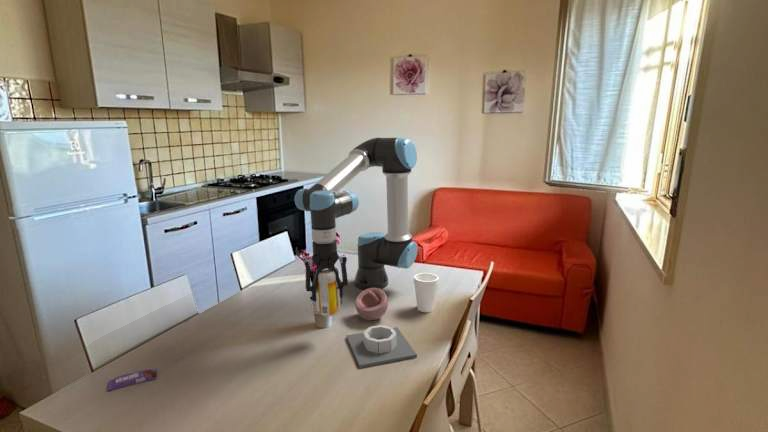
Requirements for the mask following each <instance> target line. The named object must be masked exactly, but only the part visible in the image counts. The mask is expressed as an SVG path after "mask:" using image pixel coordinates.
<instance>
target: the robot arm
mask: <svg viewBox="0 0 768 432" xmlns="http://www.w3.org/2000/svg"><path fill="white" fill-rule="evenodd" d="M417 160H418V154H417V149H416V145H415V144H414V143H413V141H412V140H411V139H409V138H404V137H373V138H370V139H368V140H365V141H364V142H361V143H359V144H358V145H357V146H355V147H354V148H353V149H352V150H350V151H349V153H348V156H347V157H346V158H344V159H343V160H342V161H341V162H339V164H337V165H336V166H335V167H333V169H331V170H330V171H329V172H328V173H327V174H325V175H324V176H323V177H322V178H321V179H319V180H318V181H316V183H314V185H311V186H310V188H301V189H298V190H297V191H296V193H295V195H294V203H295V206H296V208H297V209H299V210H301V211H305V212H310V224H311V240H312V242H311V243H312V256H311V258H309V259H304V260H303V264H304V267H305V289H306V292H311V300H312V301H313V302H315V308H316V311H317V312H319V311H320V309H319V292H318V288H317V285H318V275H319V273H321V272H322V270H323V269H326V268H327V269H332V271H334V272H335V274H336V288H337V308H338V309H340V308H341V298H343V295H344V293H343V289H344V287H346V286H348V285H349V281H348V272H347V265H346V264H347V260H348V258H347V257H346V254H343V255H340V254H338V244H337V240H336V239H337V229H336V227H337V226H336V219H338V218H340V217H343V216H346V215H349V214H352V213H353V212H355V211H357V210H358V208H359V203H360V202H359V198H358V195H357V194H356V193H355V192H354V191H351V190H346V191H345V190H343V191H341V190H342V189H343V188H344V187H345V186H346V185H347V184H349V183H350V182H351V181H352V180H353V179H354V178H355V177H356V176H357V175H358V174H360V172H364V171H365V172H366V171H367V170H368V169H369V168H371V167H373V168H374V167H379V168H381V169H382V174H383V175H384V176H385V177H386V178H385V180H386V210H387V211H386V213H387V214H386V215H387V216H386V217H387V233H386V234H384V232H382V231H372V232H366V233H363V234H360V236H358V239H357V260H358V261H357V265H358V266H357V271H356V274H355V277H354V286H355V287H357V288H358V289H360V290H361V289H362V290H366V289H368V288H379V289H381V290H382V289H385V288H386V287H387V286H388V284H389V278H388V277H389V276H388V274H387V271H386V268H385V266H388V267H393V268H398V269H405V270H406V269H409V268H411V267H412V266H413V265H414V262H415V260H416V258H417V256H418V251H419V250H418V249H419V248H418V244H417V243H416V242H415V241H413V235H412V234H411V233H410V232H409V195H408V194H409V191H408V187H409V185H408V182H409V181H408V176H409V175H410V174H411V173H412V169H413V168H415V167H416V164H417ZM340 191H341V192H340ZM338 261H339V263H340V271H341V277H342V278H341V279H342V281H341V279H340V277H339V273H338V271H337V269H336V266H335V265H336V263H337V262H338ZM313 263H314V265H315V266H316V268H315V272H314V275H313V280H312V283H311V267H312V264H313Z"/></svg>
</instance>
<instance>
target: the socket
mask: <svg viewBox="0 0 768 432" xmlns="http://www.w3.org/2000/svg"><path fill="white" fill-rule="evenodd" d="M346 340H347V342H348V345H349V346H350V350H351V351H352V353H353V356H354V358H355V360H356V362H357V364H358V368H359V369H363V368H369V367H373V366H379V365H384V364H389V363H394V362H395V363H396V362H400V361H405V360H411V359H416V358H417V357H418V354H417V353H416V352H415V350H414V349H413V347H412V346H411V345H410V343H409V342H408V340H407V339H406V337H405V336H404V335H403V333H402V332H401V330H400V329H399V328H398V326H396V327H391V326H387V325H384V324H383V325H381V324H380V325H379V324H378V325H372V326H369V327H367V329H366V330H364V331H363V332H360V333H359V332H358V333H353V334H347V335H346Z"/></svg>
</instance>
